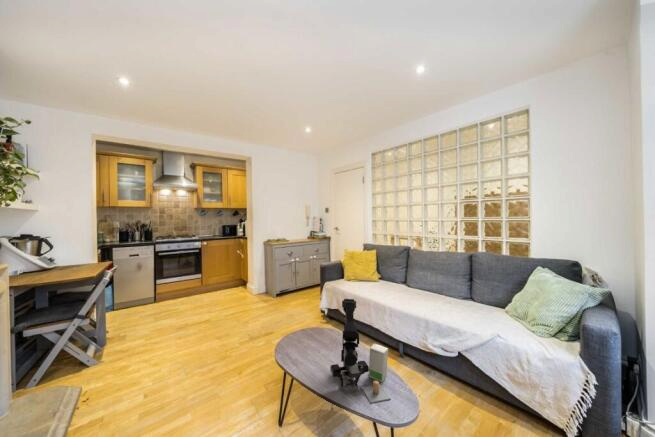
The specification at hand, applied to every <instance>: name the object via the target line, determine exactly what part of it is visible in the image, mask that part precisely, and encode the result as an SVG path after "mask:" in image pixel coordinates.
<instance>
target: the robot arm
mask: <svg viewBox="0 0 655 437" xmlns="http://www.w3.org/2000/svg"><path fill="white" fill-rule="evenodd" d="M341 308H342V311H343V313H344V314H345V324H344V326H343V330H342V349H341V351H340V352H341V354H340V358H341V360H340V361H341V363H342V362H343V364H342V365H343V366H340V365H339V363H336V364H331V365H330V369H329V370H330V373H331V376H332V377H334V378H336V377H337V378H339V382H341V384H340V386H341V385H342V386H341V387H343V379H344V376H348V378H351V379H352V378H354V379H355V381H356V383H357V384H358V383H359V380H360V378H361V377H362V375H364V374H365V373H369V364H368V363H367V362H366V361H365V360H358V358H359V353H358V351H357V350H356V348H359V345H360V334H359V331H357V326H356V324H355V322H354V321H355V320H354V319H355V318H354V312H355V311H356V309H357V301H356V300H355V299H353V298H344V299H343V300H342V301H341ZM343 374H344V375H343Z"/></svg>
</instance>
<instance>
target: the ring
mask: <svg viewBox="0 0 655 437" xmlns="http://www.w3.org/2000/svg"><path fill="white" fill-rule="evenodd" d="M339 382H340V381H339ZM351 384H352V385H351ZM340 386H341V387H342V385H341V382H340ZM342 390H343V393H344V394H348V393H354V392H359V384H358V383H356V381H355V378H352V379H351V378H350V377H345V378H344V377H343V387H342Z"/></svg>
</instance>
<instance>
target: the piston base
mask: <svg viewBox="0 0 655 437" xmlns="http://www.w3.org/2000/svg"><path fill="white" fill-rule="evenodd" d="M372 383H373V384H372V385H370V386H364V387H362V391H363V393H364V394H365V396H366V398H367V399H368V401H369V403H370V404H374V403H381V402H385V401H390V400H391V396H389V394H388V393H387V392H386V390H385V388H384V387H383V385H382V384H380V381H378V380H373V382H372Z"/></svg>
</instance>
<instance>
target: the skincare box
mask: <svg viewBox="0 0 655 437" xmlns="http://www.w3.org/2000/svg"><path fill="white" fill-rule="evenodd" d="M388 354H389V348H387V347H386V346H383V345H382V344H377V343H373V344H372V346H370V347H369V362H368V363H369V364H368V366H369V372H368V377H369V378H372V380H375V381H378V382H379V383H383V382H384V381H385V379H386V378H387V376H388Z"/></svg>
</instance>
